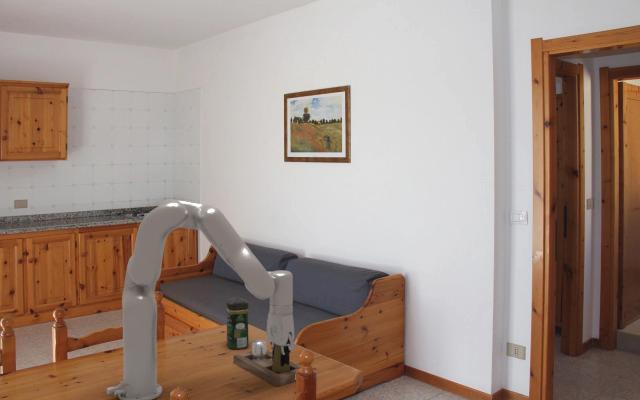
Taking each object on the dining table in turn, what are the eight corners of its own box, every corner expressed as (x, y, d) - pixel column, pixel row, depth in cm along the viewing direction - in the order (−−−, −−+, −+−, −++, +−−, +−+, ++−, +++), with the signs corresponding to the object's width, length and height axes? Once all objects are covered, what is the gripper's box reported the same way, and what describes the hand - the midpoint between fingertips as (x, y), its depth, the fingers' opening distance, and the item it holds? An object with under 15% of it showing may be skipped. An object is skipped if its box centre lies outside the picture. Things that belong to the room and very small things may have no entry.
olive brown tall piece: (287, 373, 177) (287, 340, 176) (269, 372, 178) (269, 338, 178) (292, 366, 183) (292, 334, 182) (274, 365, 184) (274, 333, 183)
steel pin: (257, 367, 187) (257, 344, 187) (249, 363, 191) (249, 341, 191) (269, 364, 190) (269, 342, 190) (261, 360, 194) (261, 338, 194)
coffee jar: (224, 342, 213) (224, 295, 212) (244, 340, 216) (245, 294, 215) (229, 350, 204) (229, 301, 203) (250, 348, 207) (250, 300, 205)
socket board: (276, 386, 171) (276, 378, 171) (233, 362, 192) (233, 355, 192) (308, 377, 179) (308, 369, 179) (263, 355, 200) (263, 348, 200)
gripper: (257, 305, 183) (257, 358, 184) (286, 316, 170) (286, 373, 172) (276, 301, 188) (275, 354, 189) (305, 312, 175) (305, 368, 176)
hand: (280, 362), depth 180 cm, fingers closed on olive brown tall piece, 4 cm apart
